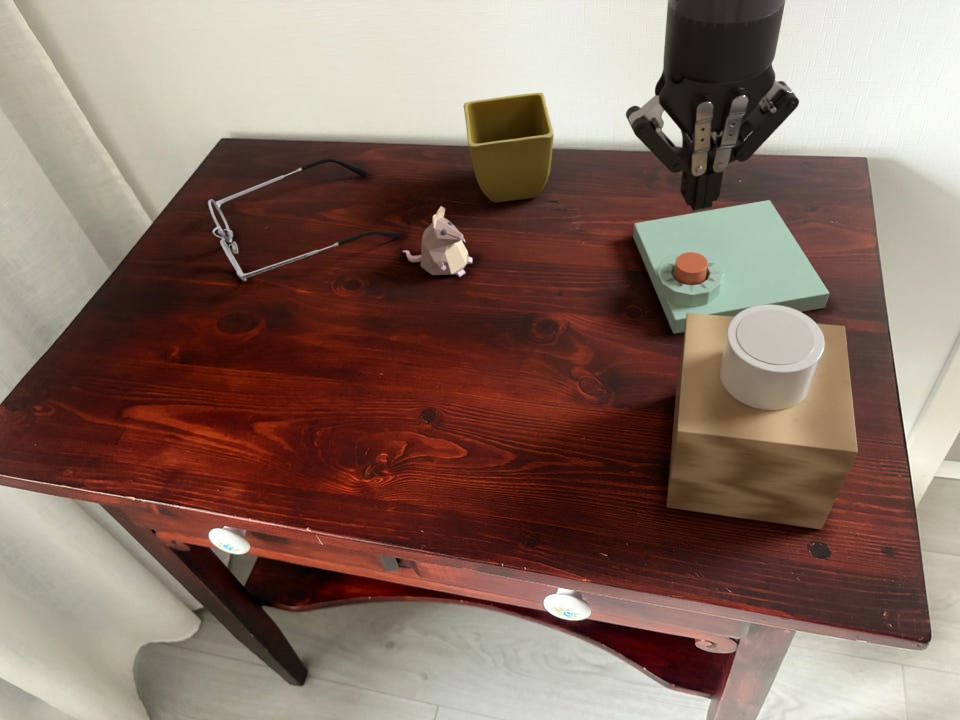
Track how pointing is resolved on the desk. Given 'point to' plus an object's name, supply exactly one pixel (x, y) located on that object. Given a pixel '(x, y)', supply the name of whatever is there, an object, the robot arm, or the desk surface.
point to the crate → (759, 437)
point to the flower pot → (510, 145)
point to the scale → (729, 262)
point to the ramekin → (771, 356)
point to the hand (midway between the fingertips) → (698, 203)
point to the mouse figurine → (442, 248)
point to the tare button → (691, 268)
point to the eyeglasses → (244, 276)
